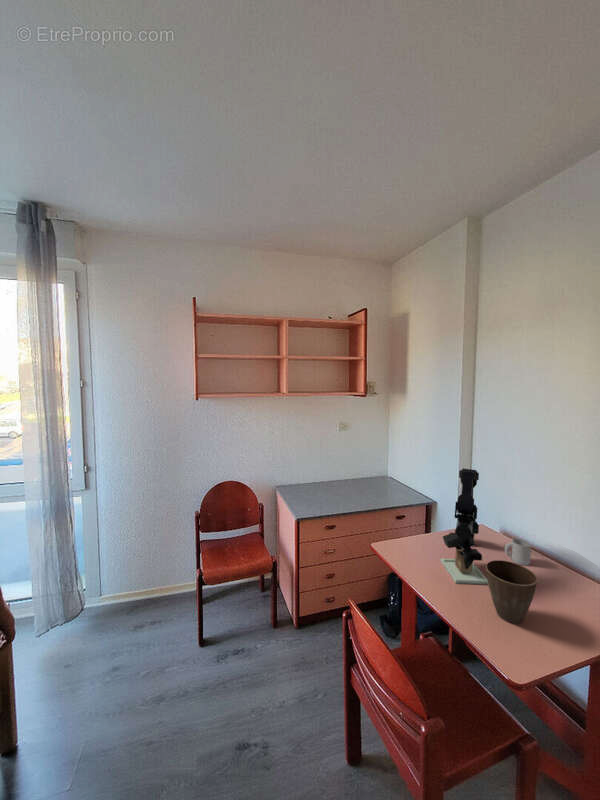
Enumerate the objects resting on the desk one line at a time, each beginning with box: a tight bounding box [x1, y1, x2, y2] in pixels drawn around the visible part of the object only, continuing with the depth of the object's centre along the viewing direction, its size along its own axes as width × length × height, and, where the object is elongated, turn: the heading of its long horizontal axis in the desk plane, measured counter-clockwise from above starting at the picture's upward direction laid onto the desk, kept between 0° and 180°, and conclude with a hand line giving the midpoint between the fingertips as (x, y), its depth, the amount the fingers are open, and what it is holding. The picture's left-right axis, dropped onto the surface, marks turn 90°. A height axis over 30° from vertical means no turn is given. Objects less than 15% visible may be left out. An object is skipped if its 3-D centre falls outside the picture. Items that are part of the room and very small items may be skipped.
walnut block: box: [454, 549, 474, 572], centre depth 139 cm, size 5×5×7 cm
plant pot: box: [485, 559, 538, 624], centre depth 113 cm, size 15×15×16 cm
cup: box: [504, 538, 532, 566], centre depth 149 cm, size 7×10×9 cm
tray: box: [440, 558, 489, 586], centre depth 140 cm, size 16×13×2 cm
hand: (463, 565), depth 140 cm, fingers closed on walnut block, 5 cm apart
